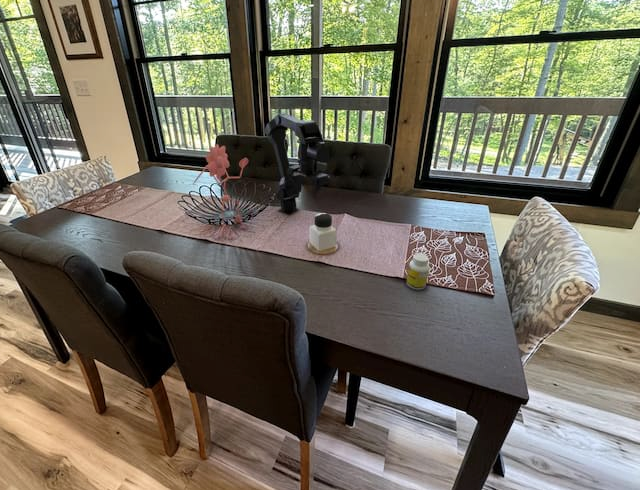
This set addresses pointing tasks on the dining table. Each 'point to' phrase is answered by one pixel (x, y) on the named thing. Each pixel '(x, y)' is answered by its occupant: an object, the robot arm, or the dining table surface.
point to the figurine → (217, 168)
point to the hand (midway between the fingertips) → (307, 195)
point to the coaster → (327, 251)
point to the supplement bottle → (418, 272)
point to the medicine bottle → (323, 232)
